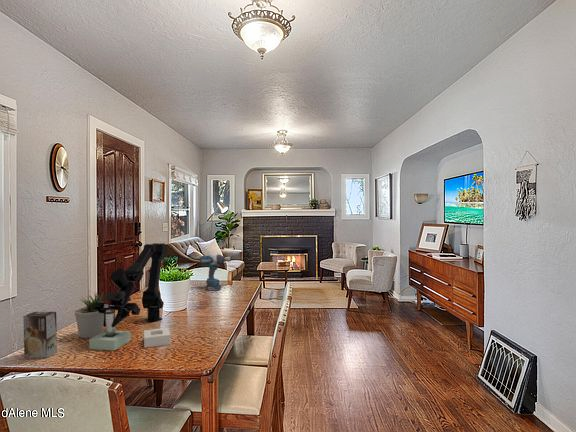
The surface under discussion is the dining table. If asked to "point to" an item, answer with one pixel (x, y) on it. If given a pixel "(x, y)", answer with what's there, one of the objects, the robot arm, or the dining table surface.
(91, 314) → the potted plant
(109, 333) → the metal cylinder
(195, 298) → the dining table surface
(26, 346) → the coffee box
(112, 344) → the block
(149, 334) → the socket block
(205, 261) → the impact wrench
